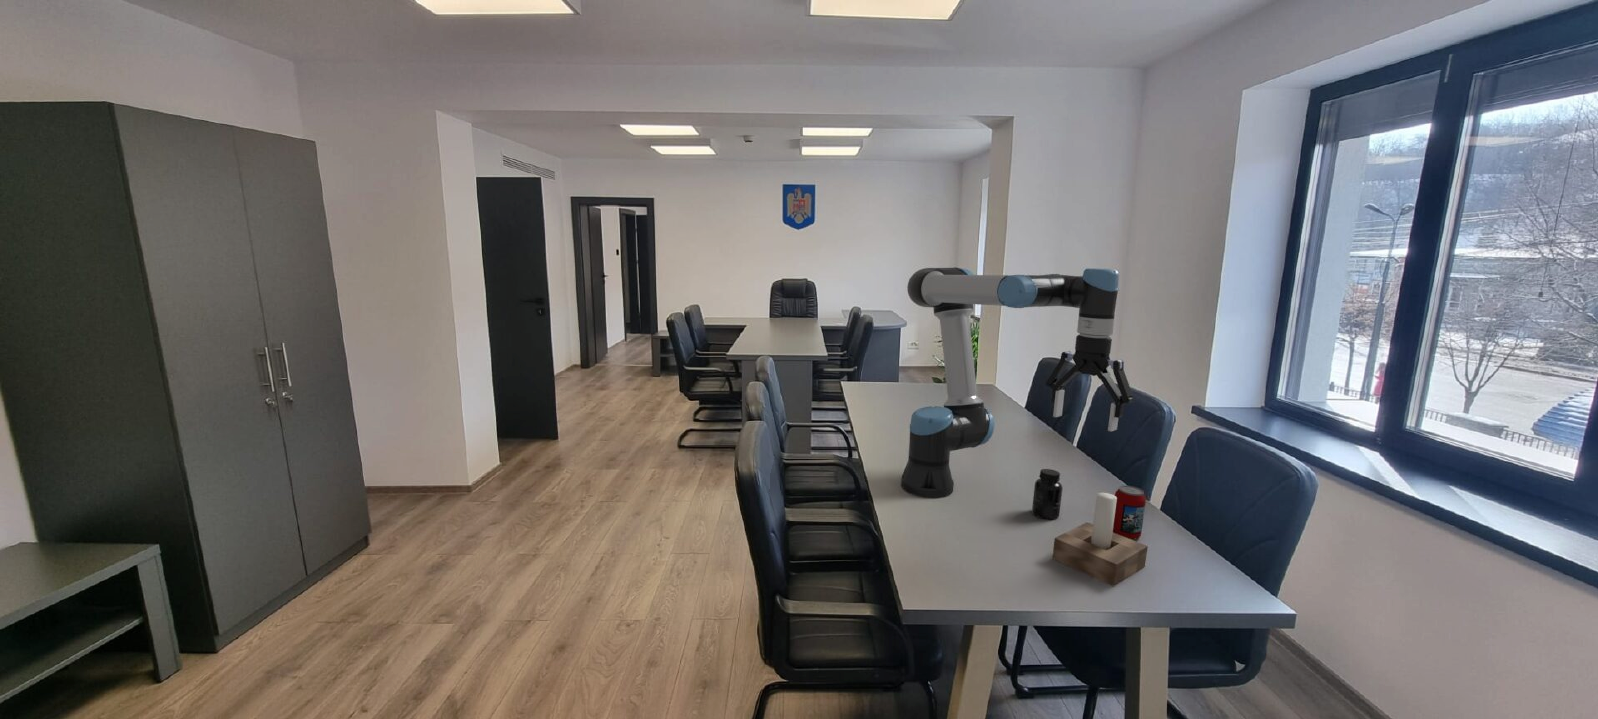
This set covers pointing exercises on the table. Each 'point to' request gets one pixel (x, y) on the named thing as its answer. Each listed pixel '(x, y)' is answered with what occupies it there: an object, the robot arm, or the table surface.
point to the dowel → (1103, 520)
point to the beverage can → (1129, 512)
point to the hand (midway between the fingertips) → (1083, 423)
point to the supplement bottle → (1047, 495)
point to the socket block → (1100, 555)
